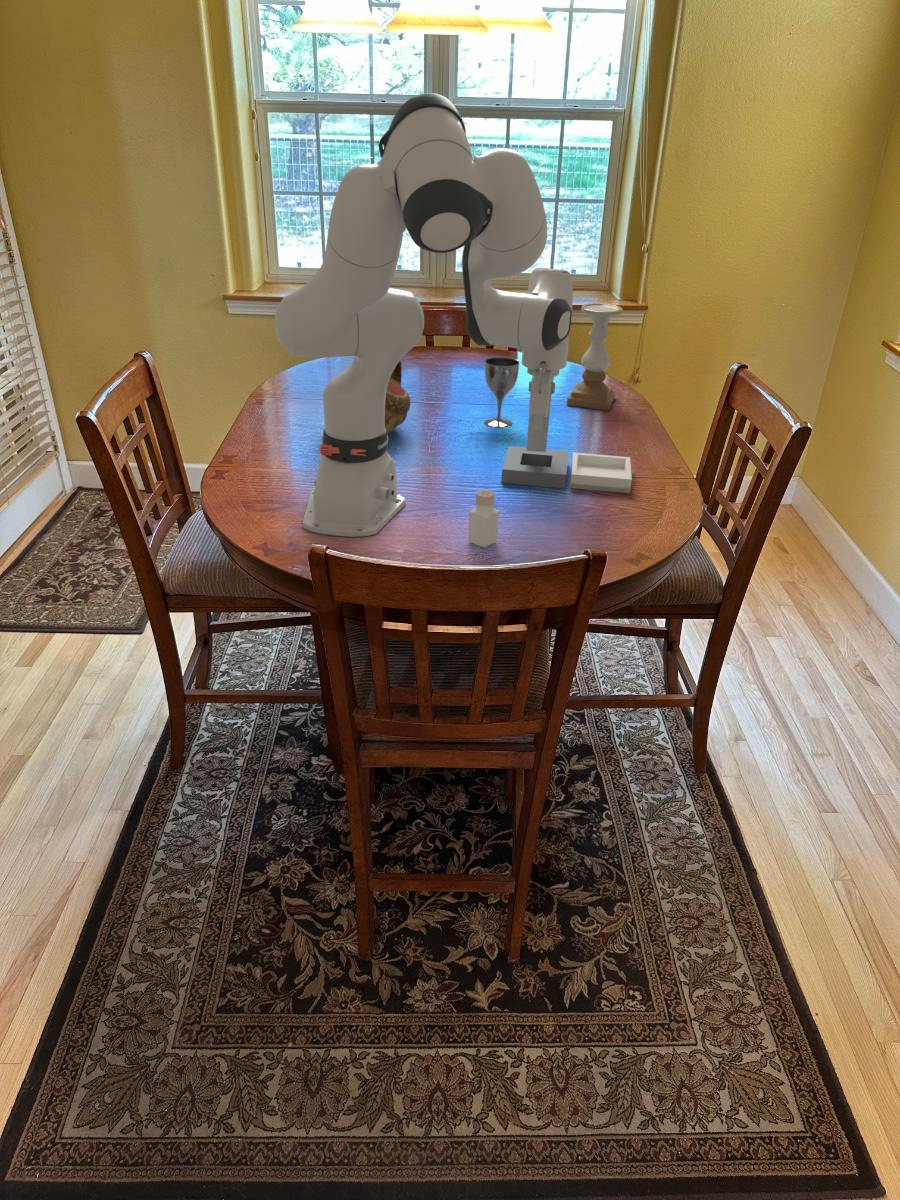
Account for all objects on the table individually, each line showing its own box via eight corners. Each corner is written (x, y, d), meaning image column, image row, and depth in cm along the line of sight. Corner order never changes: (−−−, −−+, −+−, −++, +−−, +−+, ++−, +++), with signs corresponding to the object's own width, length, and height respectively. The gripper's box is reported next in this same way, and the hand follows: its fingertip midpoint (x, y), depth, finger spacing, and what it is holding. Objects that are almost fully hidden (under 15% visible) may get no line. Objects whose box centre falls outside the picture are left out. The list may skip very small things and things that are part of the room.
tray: (629, 493, 162) (631, 479, 160) (569, 487, 163) (571, 474, 162) (628, 470, 172) (630, 457, 170) (571, 465, 173) (573, 452, 172)
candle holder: (608, 410, 205) (621, 314, 192) (565, 405, 208) (576, 309, 195) (614, 398, 214) (627, 305, 201) (574, 393, 217) (584, 300, 204)
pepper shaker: (484, 549, 140) (486, 500, 135) (466, 542, 142) (468, 493, 137) (498, 542, 143) (501, 493, 138) (481, 534, 145) (483, 486, 140)
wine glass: (504, 431, 190) (509, 368, 182) (476, 424, 194) (478, 362, 186) (520, 422, 196) (525, 360, 188) (492, 415, 200) (495, 354, 192)
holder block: (564, 488, 163) (566, 474, 161) (501, 482, 165) (502, 469, 163) (567, 464, 174) (568, 451, 172) (507, 459, 176) (508, 446, 174)
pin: (548, 453, 164) (554, 388, 157) (523, 451, 165) (528, 386, 158) (549, 444, 168) (555, 380, 161) (524, 442, 169) (530, 378, 162)
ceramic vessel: (312, 449, 178) (304, 333, 164) (360, 413, 199) (357, 308, 185) (383, 460, 173) (381, 343, 160) (425, 422, 194) (426, 315, 181)
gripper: (558, 371, 147) (551, 443, 155) (562, 343, 165) (556, 409, 172) (524, 369, 148) (519, 440, 155) (531, 341, 165) (526, 407, 173)
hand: (538, 424), depth 164 cm, fingers closed on pin, 4 cm apart
